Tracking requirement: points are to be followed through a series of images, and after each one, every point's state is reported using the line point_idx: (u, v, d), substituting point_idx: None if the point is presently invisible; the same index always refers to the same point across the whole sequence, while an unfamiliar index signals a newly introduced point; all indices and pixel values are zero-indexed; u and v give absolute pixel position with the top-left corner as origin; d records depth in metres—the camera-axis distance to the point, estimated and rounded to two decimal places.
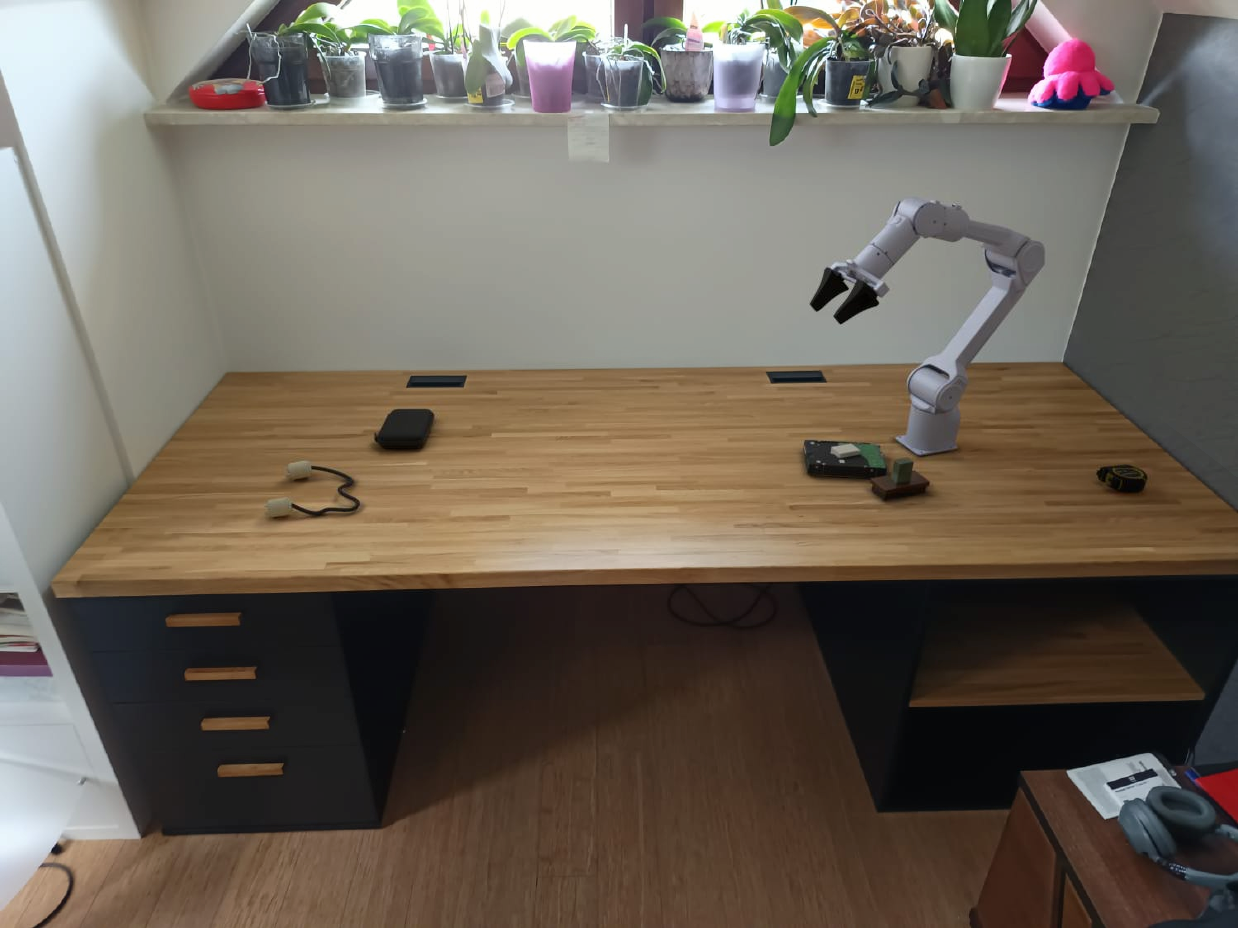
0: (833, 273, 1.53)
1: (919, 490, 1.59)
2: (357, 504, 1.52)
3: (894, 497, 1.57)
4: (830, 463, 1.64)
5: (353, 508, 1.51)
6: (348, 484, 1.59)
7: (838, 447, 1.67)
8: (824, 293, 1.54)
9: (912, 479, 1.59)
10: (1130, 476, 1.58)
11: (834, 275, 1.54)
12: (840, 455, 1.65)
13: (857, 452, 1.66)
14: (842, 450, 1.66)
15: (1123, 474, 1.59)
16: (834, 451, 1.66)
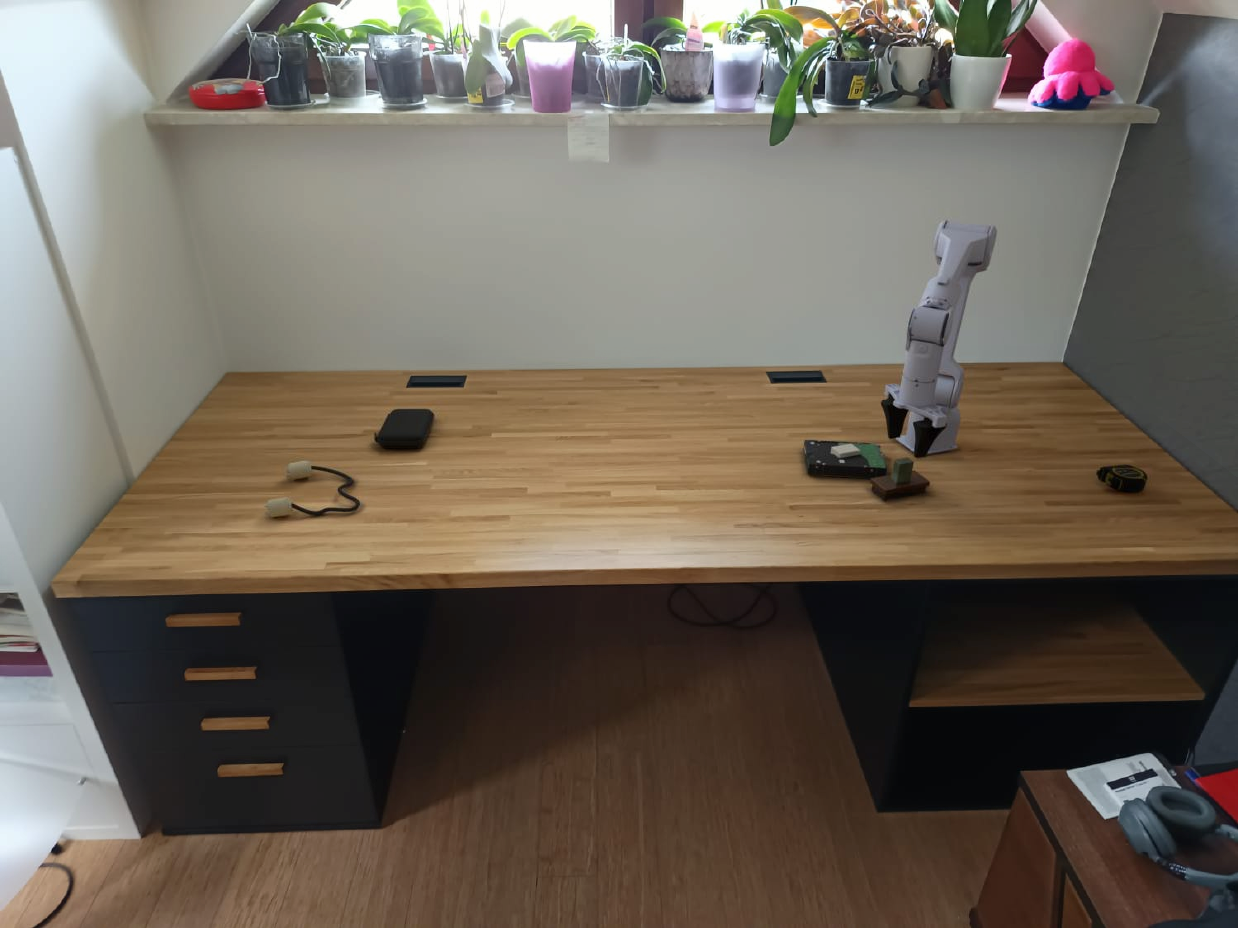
0: (890, 406, 1.55)
1: (919, 490, 1.59)
2: (357, 504, 1.52)
3: (894, 497, 1.57)
4: (830, 463, 1.64)
5: (353, 508, 1.51)
6: (348, 484, 1.59)
7: (838, 447, 1.67)
8: (894, 422, 1.57)
9: (912, 479, 1.59)
10: (1130, 476, 1.58)
11: (892, 406, 1.55)
12: (840, 455, 1.65)
13: (857, 452, 1.66)
14: (842, 450, 1.66)
15: (1123, 474, 1.59)
16: (834, 451, 1.66)
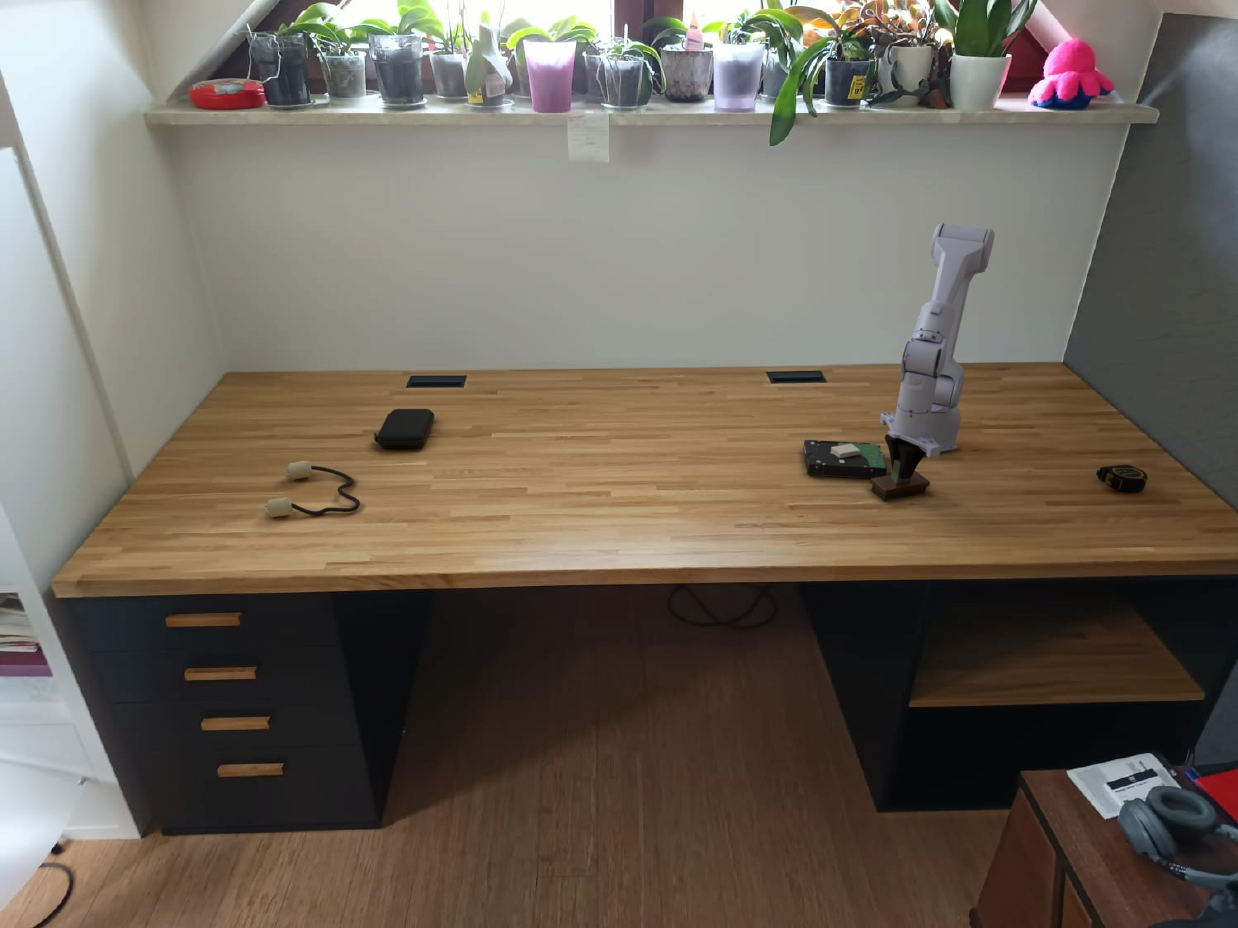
0: (894, 441, 1.55)
1: (919, 490, 1.59)
2: (357, 504, 1.52)
3: (894, 497, 1.57)
4: (830, 463, 1.64)
5: (353, 508, 1.51)
6: (348, 484, 1.59)
7: (838, 447, 1.67)
8: (898, 457, 1.57)
9: (912, 479, 1.59)
10: (1130, 476, 1.58)
11: (896, 441, 1.55)
12: (840, 455, 1.65)
13: (857, 452, 1.66)
14: (842, 450, 1.66)
15: (1123, 474, 1.59)
16: (834, 451, 1.66)
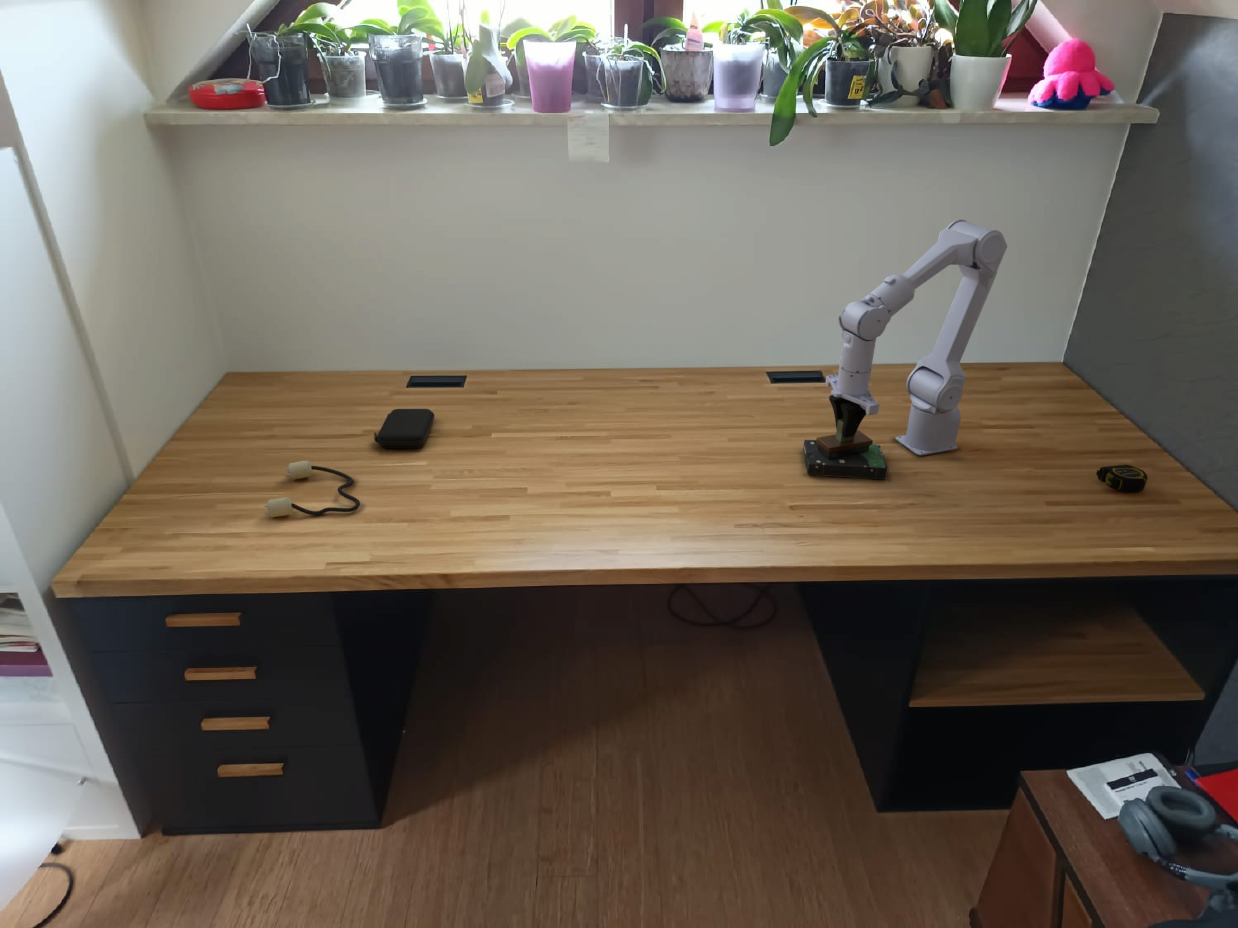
0: (837, 401, 1.63)
1: (862, 449, 1.66)
2: (357, 504, 1.52)
3: (838, 455, 1.65)
4: (830, 463, 1.64)
5: (353, 508, 1.51)
6: (348, 484, 1.59)
7: None
8: (842, 416, 1.65)
9: (856, 438, 1.67)
10: (1130, 476, 1.58)
11: (839, 401, 1.63)
12: None
13: None
14: None
15: (1123, 474, 1.59)
16: None
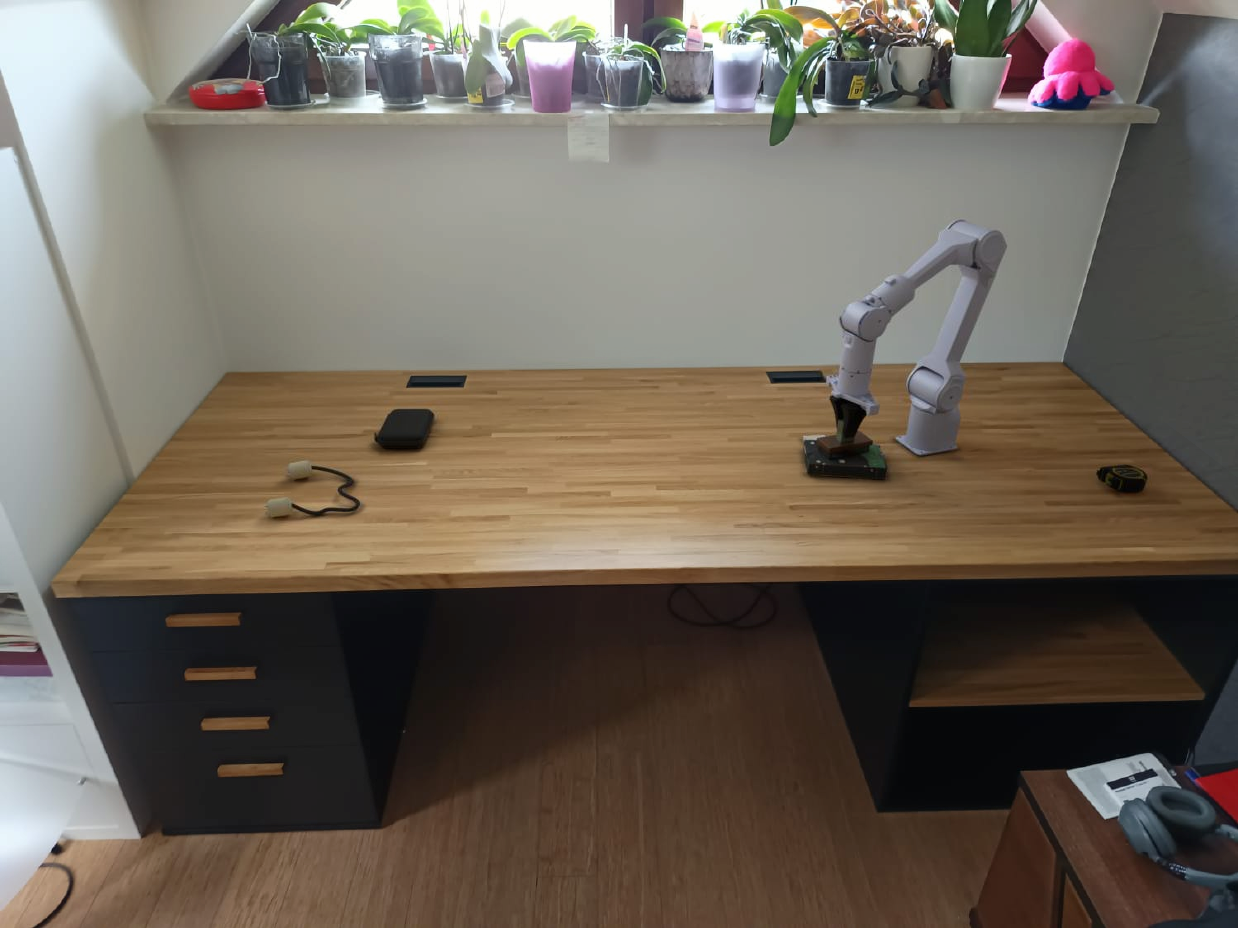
0: (838, 401, 1.63)
1: (863, 449, 1.66)
2: (357, 504, 1.52)
3: (838, 455, 1.65)
4: (830, 463, 1.64)
5: (353, 508, 1.51)
6: (348, 484, 1.59)
7: None
8: (842, 417, 1.65)
9: (856, 438, 1.66)
10: (1130, 476, 1.58)
11: (840, 402, 1.63)
12: None
13: None
14: None
15: (1123, 474, 1.59)
16: None
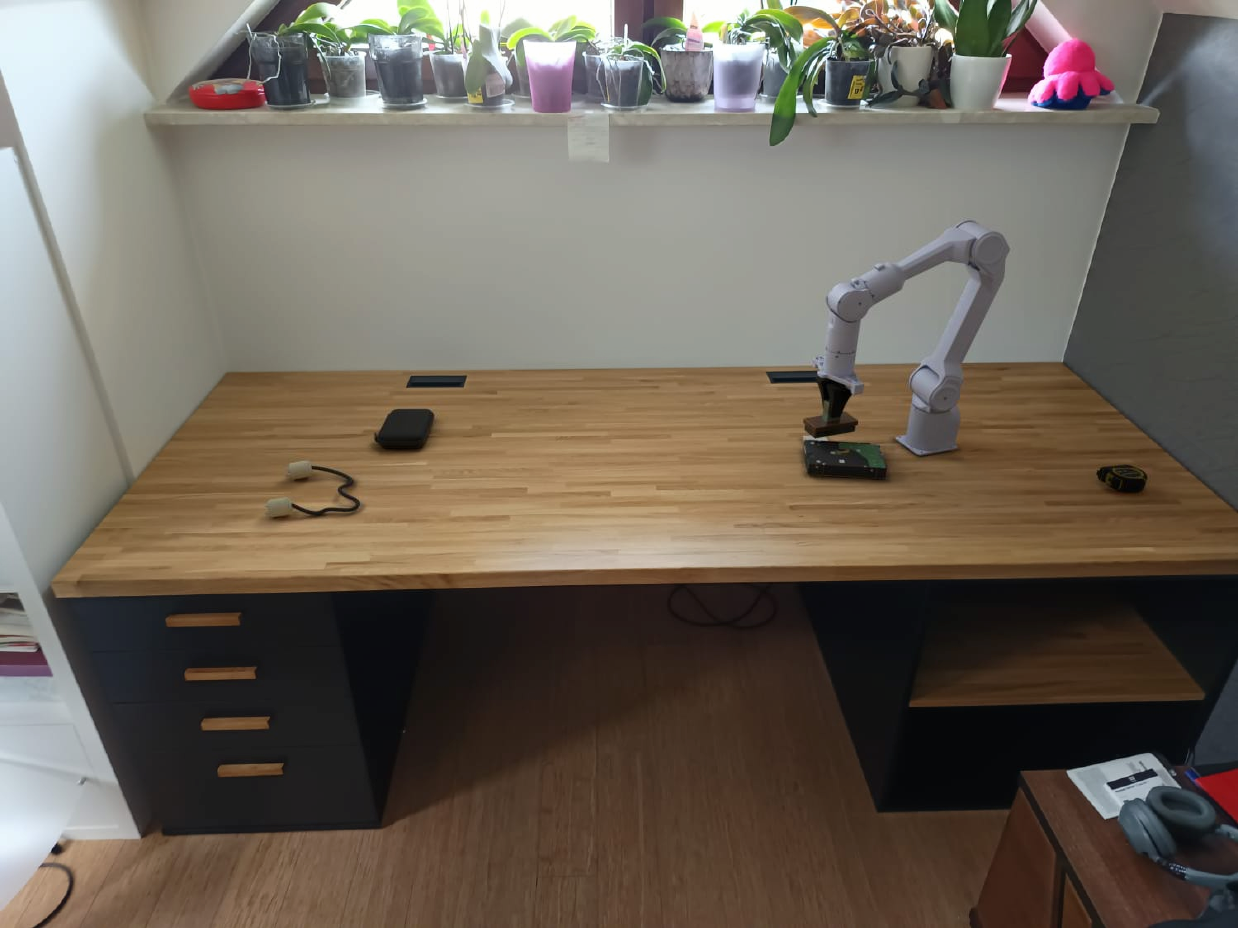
0: (824, 382, 1.66)
1: (848, 429, 1.70)
2: (357, 504, 1.52)
3: (824, 435, 1.69)
4: (830, 463, 1.64)
5: (353, 508, 1.51)
6: (348, 484, 1.59)
7: None
8: (828, 397, 1.69)
9: (842, 419, 1.70)
10: (1130, 476, 1.58)
11: (826, 382, 1.67)
12: None
13: None
14: None
15: (1123, 474, 1.59)
16: None
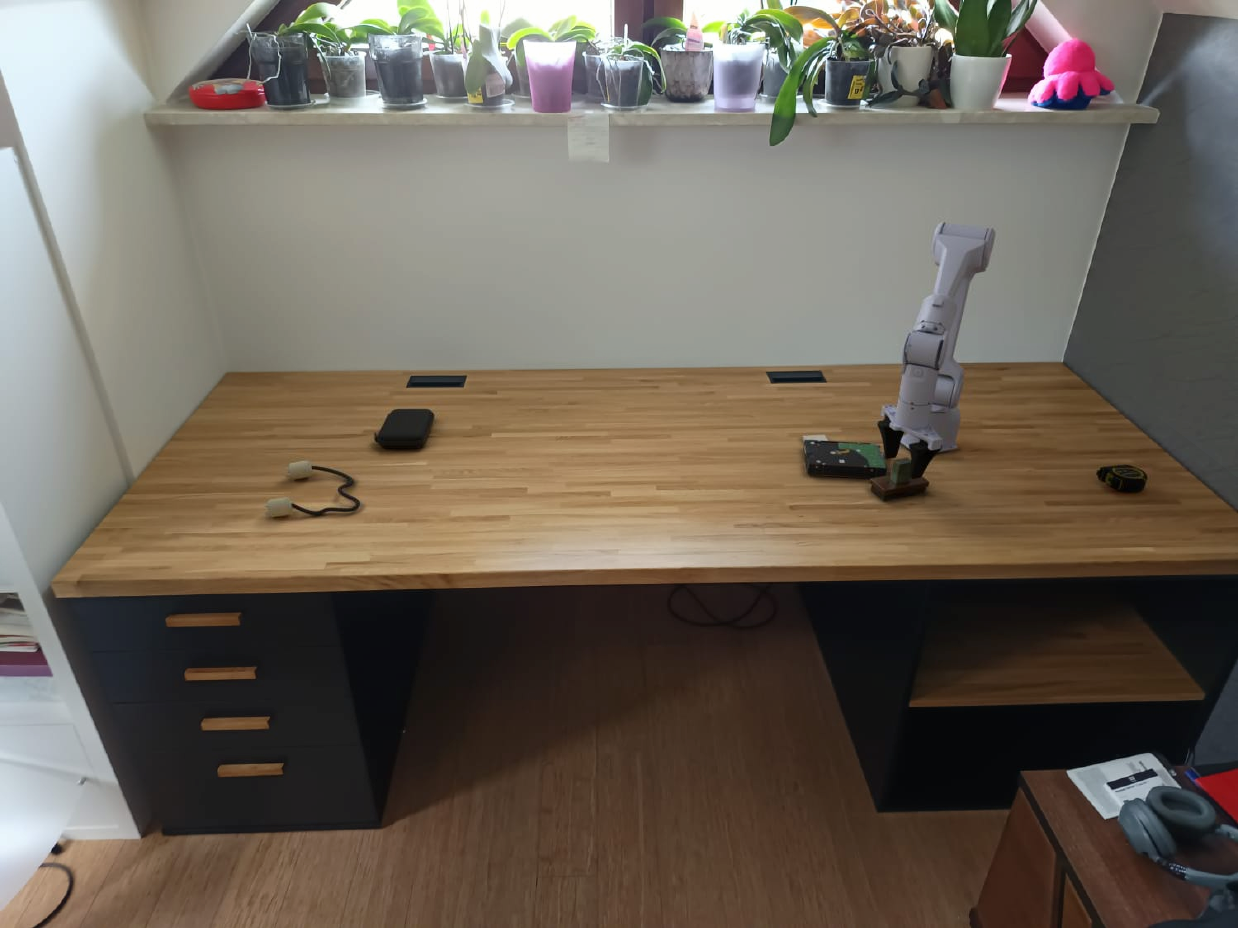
0: (886, 427, 1.57)
1: (918, 490, 1.59)
2: (357, 504, 1.52)
3: (893, 497, 1.57)
4: (830, 463, 1.64)
5: (353, 508, 1.51)
6: (348, 484, 1.59)
7: None
8: (891, 443, 1.59)
9: (911, 479, 1.59)
10: (1130, 476, 1.58)
11: (888, 427, 1.57)
12: None
13: None
14: None
15: (1123, 474, 1.59)
16: None
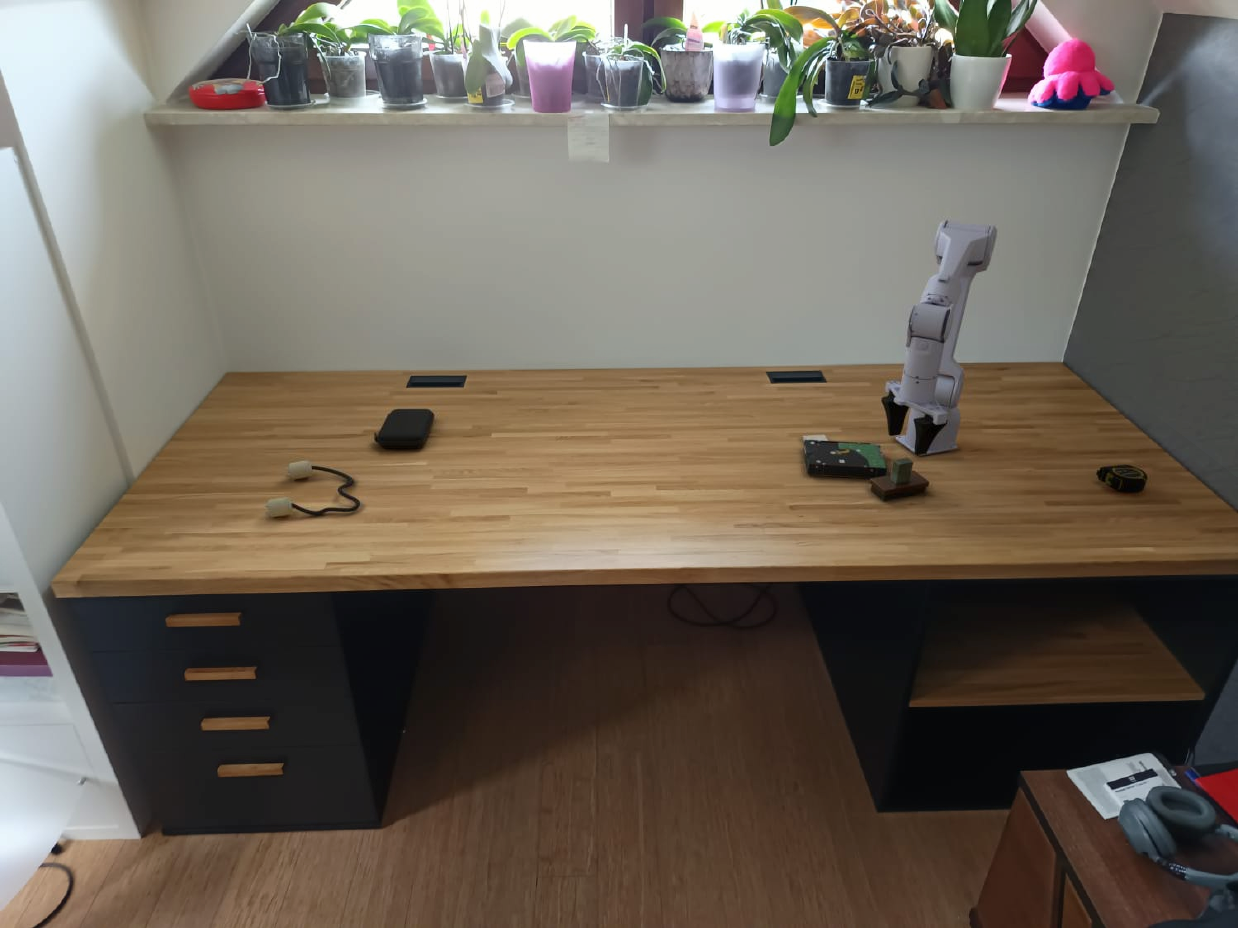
0: (891, 403, 1.54)
1: (918, 490, 1.59)
2: (357, 504, 1.52)
3: (893, 497, 1.57)
4: (830, 463, 1.64)
5: (353, 508, 1.51)
6: (348, 484, 1.59)
7: None
8: (895, 419, 1.56)
9: (911, 479, 1.59)
10: (1130, 476, 1.58)
11: (893, 403, 1.54)
12: None
13: None
14: None
15: (1123, 474, 1.59)
16: None
